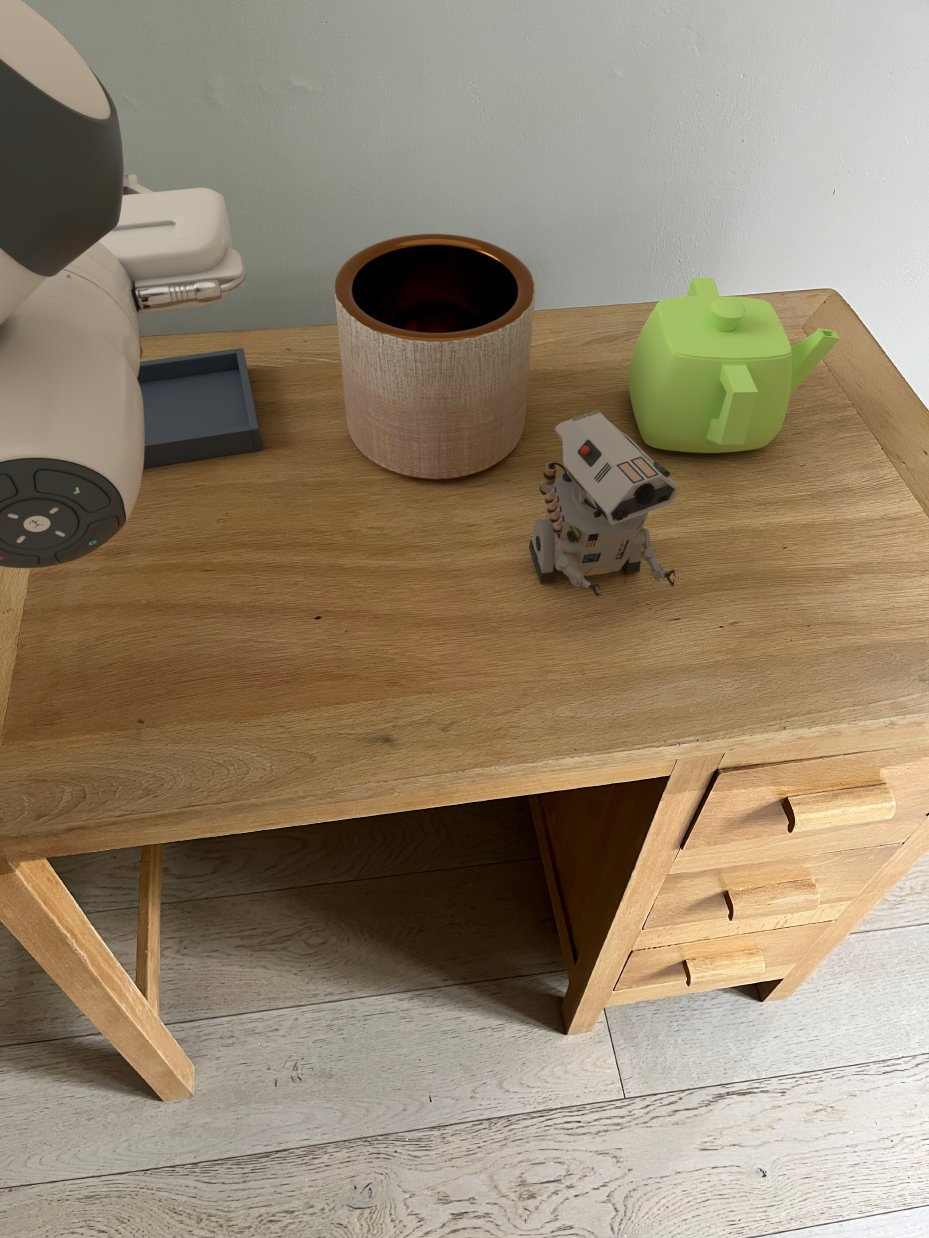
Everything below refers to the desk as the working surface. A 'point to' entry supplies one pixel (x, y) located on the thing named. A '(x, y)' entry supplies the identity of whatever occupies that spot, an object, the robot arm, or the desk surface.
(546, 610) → the desk surface
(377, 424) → the planter
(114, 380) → the robot arm
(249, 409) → the tray
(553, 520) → the figurine
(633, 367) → the teapot
